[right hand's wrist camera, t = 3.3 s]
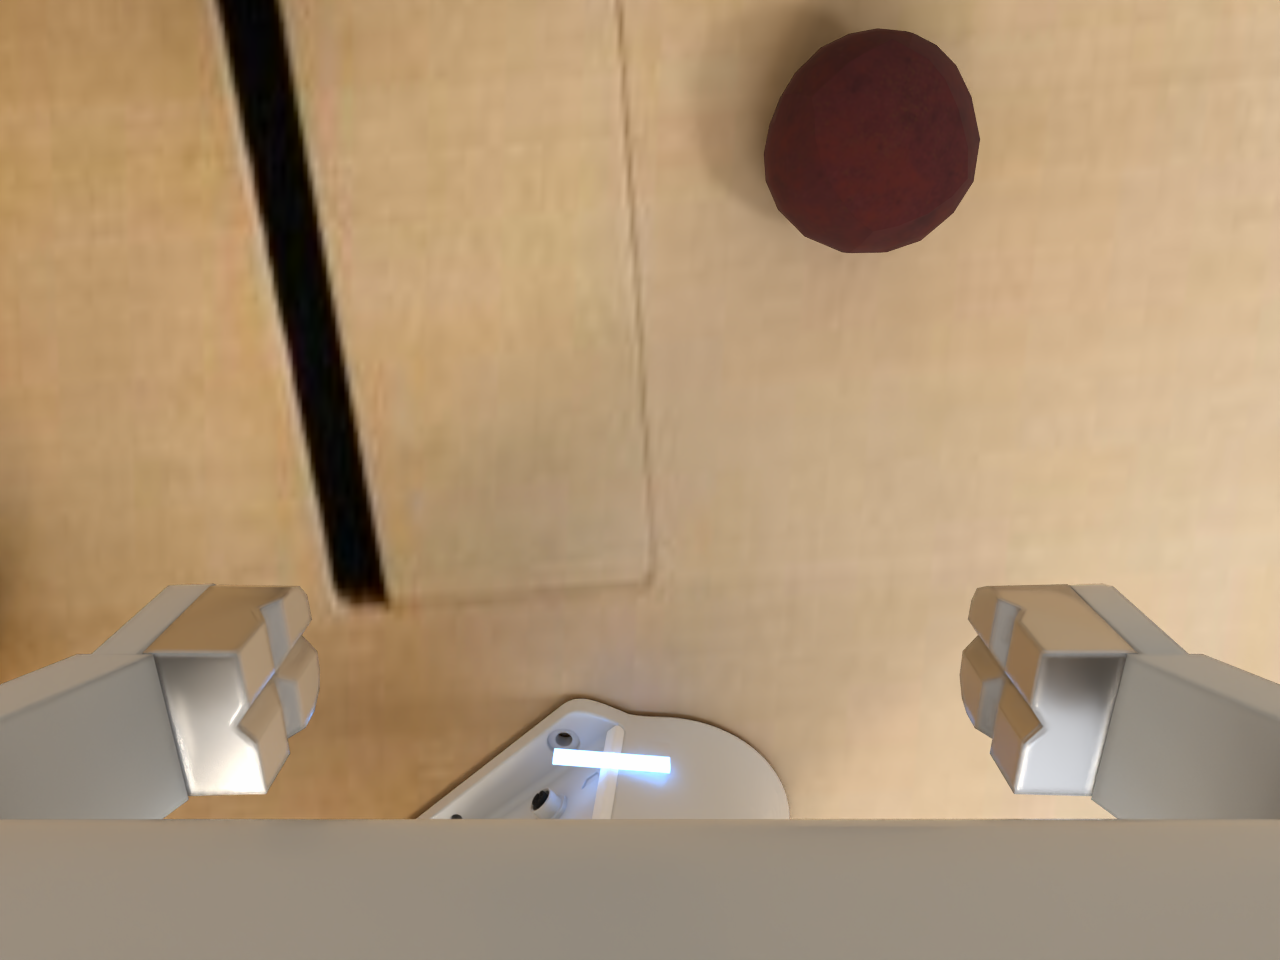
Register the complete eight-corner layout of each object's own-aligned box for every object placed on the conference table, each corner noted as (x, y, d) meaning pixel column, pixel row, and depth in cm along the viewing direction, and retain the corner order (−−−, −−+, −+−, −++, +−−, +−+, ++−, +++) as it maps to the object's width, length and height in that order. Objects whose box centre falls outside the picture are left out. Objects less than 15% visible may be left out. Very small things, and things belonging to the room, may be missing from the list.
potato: (885, 3, 32) (949, -38, 25) (968, 185, 34) (1048, 192, 27) (717, 115, 33) (737, 105, 26) (809, 283, 35) (848, 312, 29)
